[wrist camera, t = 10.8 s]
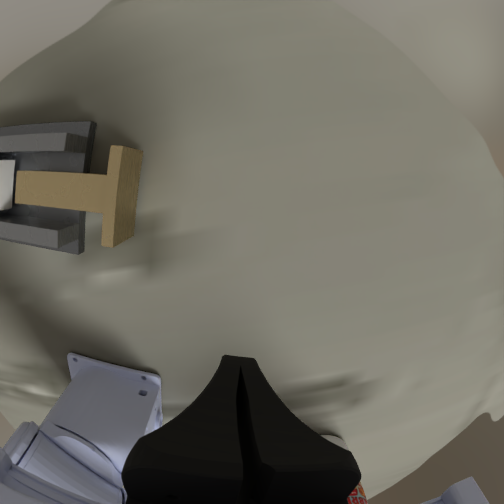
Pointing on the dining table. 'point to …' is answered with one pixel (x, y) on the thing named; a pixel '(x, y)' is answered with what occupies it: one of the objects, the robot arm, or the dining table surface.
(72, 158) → the gauge frame
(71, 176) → the wooden t-shaped block
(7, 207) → the pointer
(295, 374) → the dining table surface
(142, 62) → the dining table surface
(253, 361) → the robot arm
